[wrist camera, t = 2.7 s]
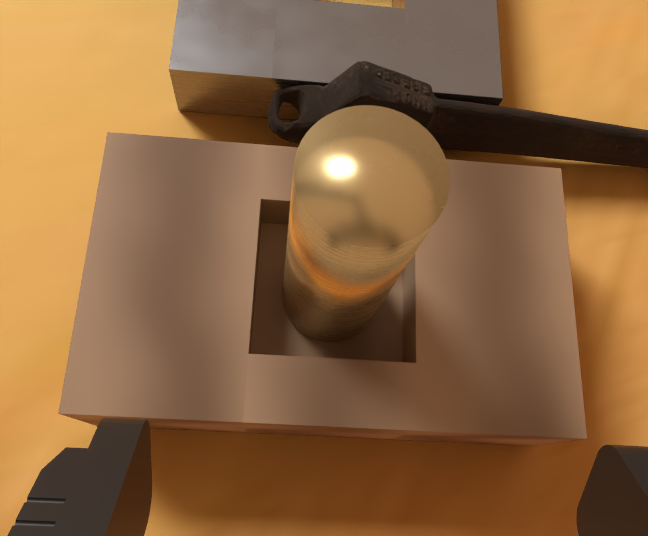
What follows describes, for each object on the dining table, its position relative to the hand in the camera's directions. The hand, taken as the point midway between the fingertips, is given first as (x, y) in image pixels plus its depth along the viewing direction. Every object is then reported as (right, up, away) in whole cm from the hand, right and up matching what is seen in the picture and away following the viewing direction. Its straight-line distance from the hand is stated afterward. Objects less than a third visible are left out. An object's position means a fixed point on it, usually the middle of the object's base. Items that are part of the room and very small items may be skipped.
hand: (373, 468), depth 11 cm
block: (0, +17, +20) cm, 26 cm away
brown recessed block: (-1, +2, +15) cm, 15 cm away
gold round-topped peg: (-1, +2, +12) cm, 13 cm away
